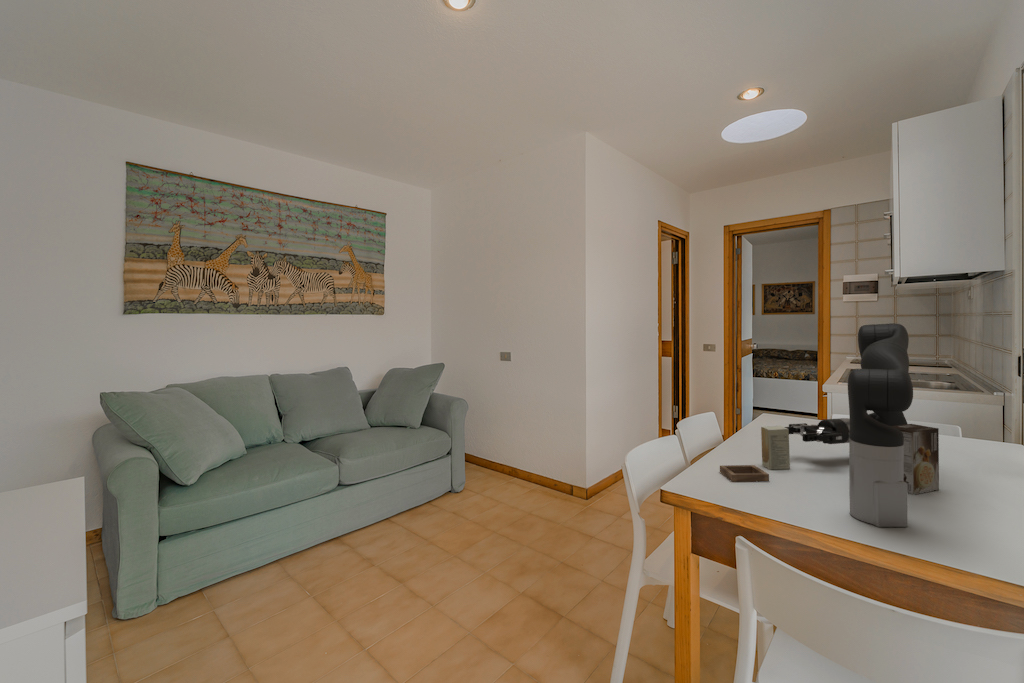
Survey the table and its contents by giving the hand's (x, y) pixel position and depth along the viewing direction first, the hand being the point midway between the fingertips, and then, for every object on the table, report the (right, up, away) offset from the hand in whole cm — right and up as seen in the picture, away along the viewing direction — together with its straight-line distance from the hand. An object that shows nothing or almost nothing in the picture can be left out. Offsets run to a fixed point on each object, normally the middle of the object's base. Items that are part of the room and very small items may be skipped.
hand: (792, 434), depth 132 cm
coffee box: (+18, -10, -20) cm, 29 cm away
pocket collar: (-19, -10, -8) cm, 23 cm away
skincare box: (-6, -10, -1) cm, 12 cm away
